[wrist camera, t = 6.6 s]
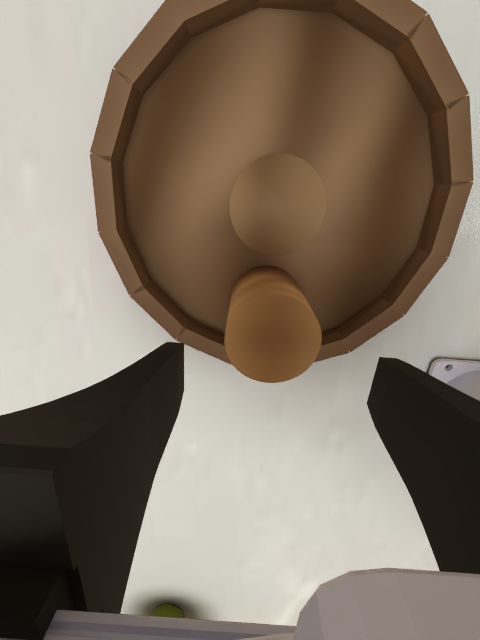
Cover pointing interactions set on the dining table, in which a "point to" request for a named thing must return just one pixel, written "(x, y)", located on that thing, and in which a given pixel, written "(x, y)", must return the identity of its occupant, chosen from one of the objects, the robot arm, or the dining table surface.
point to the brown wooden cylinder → (270, 326)
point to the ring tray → (282, 161)
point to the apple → (168, 611)
